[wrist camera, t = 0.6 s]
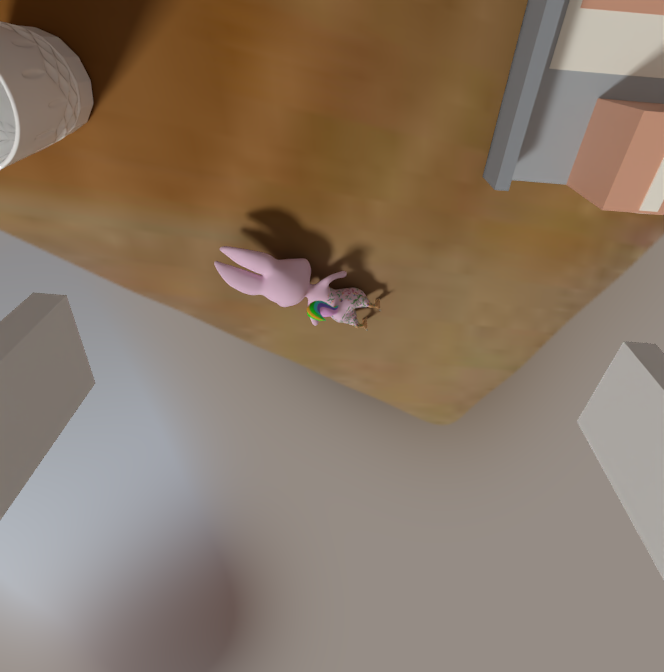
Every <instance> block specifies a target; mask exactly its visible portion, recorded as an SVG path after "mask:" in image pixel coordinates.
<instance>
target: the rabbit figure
mask: <svg viewBox="0 0 664 672" xmlns="http://www.w3.org/2000/svg"><path fill="white" fill-rule="evenodd" d="M220 251H222V252H223V253H224V254H226V255H227V256H228V257H229V258H231V259H232V260H233V261H234V262H236V263H237V264H239V265H241V266H243V267H245V268H248V269H250V270H252V271H254V272H256V273H259V274H262V275H257V274H254V273H252V272H249V271H246V270H243V269H240V268H237V267H234V266H231V265H227V264H224V263H221V262H218V261H215V262H214V264H215V267H216V269H217V270H218V272H219V274H220V275H221V276H222V278H223V279H224V280H225V281H226V282H227V283H228V284H229V285H230V286H231V287H233V288H235V289H237V290H238V291H240V292H243V293H246V294H249V295H259V294H260V295H264V296H265V297H267V298H268V299H270V300H271V301H273V302H276V303H277V304H279V305H280V306H282V307H288V306H292V305H295V304H297V303H299V302H300V301H302V300H303V298H304V297H307V298H308V308H307V314H308V316H309V317H310V319H311V321H312V324H313V325H317V324H318V320H319V321H324V320H325V319H324V318H323V317H329V316H331V318H333V319H334V320H335V321H337V322H342V323H347V324H351V325H353V326H355V327H356V328H359V327H364V328H365V329H366V330H367V320H366V319H367V318H368V317H366V318H365V320H364V319H363V320H362V322H363V323H361V324H359V322H358V320H357V316H356V310H355V308H358V307H369V308H372V307H377V308H378V309H379V308H380V300H379V299H380V298H378V300H377V299H376V300H375V304H374V305H372V304H371V303H370V302H369V300H368V298H367V297H366V295H365V293H364V292H363V291H362V290H360V289H358V288H353V287H351V288H343V289H337V290H335V289H332V288H330V287H329V284H330V283H331V282H332V281H333V280H335V279H337V278H343V277H345V276H346V275H347V273H346V271H340V272H337V273H334V274H332V275H329V276H327V277H326V278H324V279H322V280H321V281H320V282H318V283H317V284H314V285H312V284H310V276H311V267H310V264H309V262H308V260H307V259H304V258H299V259H283V260H278V259H275V258H274V257H272V256H271V255H269V254H266V253H263V252H258V251H252V250H247V249H241V248H235V247H228V246H224V247H221V248H220ZM379 311H381V310H380V309H379ZM367 331H368V330H367Z"/></svg>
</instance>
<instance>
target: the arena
mask: <svg viewBox="0 0 664 672" xmlns="http://www.w3.org/2000/svg"><path fill="white" fill-rule="evenodd" d="M598 98H601V99H613V100H625V101H637V102H649V103H660V104H664V0H528V3H527V7H526V11H525V15H524V19H523V23H522V26H521V30H520V34H519V38H518V42H517V46H516V50H515V54H514V57H513V61H512V65H511V69H510V73H509V77H508V81H507V85H506V88H505V92H504V96H503V100H502V104H501V108H500V112H499V116H498V120H497V123H496V127H495V131H494V135H493V139H492V143H491V147H490V151H489V154H488V158H487V162H486V166H485V170H484V174H483V177H484V179H485V180H486V181H487V182H488V183H489V184H490V185H491V186H492V187H493V188H494V190H504V191H509V187H510V184H511V180H518V181H530V182H542V183H554V184H567V181H568V178H569V175H570V173H571V170H572V167H573V164H574V162H575V159H576V156H577V154H578V151H579V148H580V145H581V143H582V140H583V137H584V134H585V132H586V129H587V126H588V123H589V121H590V118H591V115H592V113H593V110H594V107H595V104H596V102H597V99H598Z"/></svg>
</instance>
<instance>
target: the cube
mask: <svg viewBox="0 0 664 672" xmlns="http://www.w3.org/2000/svg"><path fill="white" fill-rule="evenodd" d="M566 185H568V186H569V187H570V188H572V189H573V190H575V191H576V192H577V193H579V194H580V195H582V196H583V197H584V198H586V199H587V200H589V201H590V202H592V203H593V204H594V205H596V206H597V207H599V208H600V209H601V210H609V211H621V212H633V213H643V214H658V215H664V104H660V103H649V102H637V101H625V100H613V99H601V98H598V99H597V102H596V104H595V107H594V110H593V113H592V115H591V118H590V121H589V123H588V126H587V129H586V132H585V134H584V137H583V140H582V143H581V145H580V148H579V151H578V154H577V156H576V159H575V162H574V164H573V167H572V170H571V173H570V175H569V178H568V181H567V184H566Z"/></svg>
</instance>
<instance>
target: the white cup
mask: <svg viewBox="0 0 664 672" xmlns="http://www.w3.org/2000/svg"><path fill="white" fill-rule="evenodd" d="M93 104H94V102H93V94H92V86H91V80H90V78H89V76H88V74H87V72H86V70H85V68H84V66H83V64H82V63H81V61H80V59H79V57H78V56H77V55H76V54H75V53H74V52H73V51H72V50H71V49H70V48H69V47H68V46H67V45H66V44H65V43H64V42H63V41H62V40H61V39H60V38H59V37H57V36H54V35H52V34H50V33H48V32H45V31H43V30H41V29H39V28H36V27H29V26H17V25H14V24H10V23H6V22H0V170H1V169H3V168H5V167H7V166H9V165H11V164H13V163H15V162H17V161H20V160H22V159H24V158H26V157H28V156H30V155H32V154H34V153H36V152H39V151H41V150H43V149H45V148H47V147H48V146H50V145H52V144H54V143H56V142H58V141H59V140H61V139H63V138H64V137H65V136H67V135H69V134H71V133H73V132H74V131H76V130H77V129H78V128H80V127H81V126H82V125H84V124H85V123H86V122H87V121H88V118H89V115H90V113H91V110H92V107H93Z"/></svg>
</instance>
